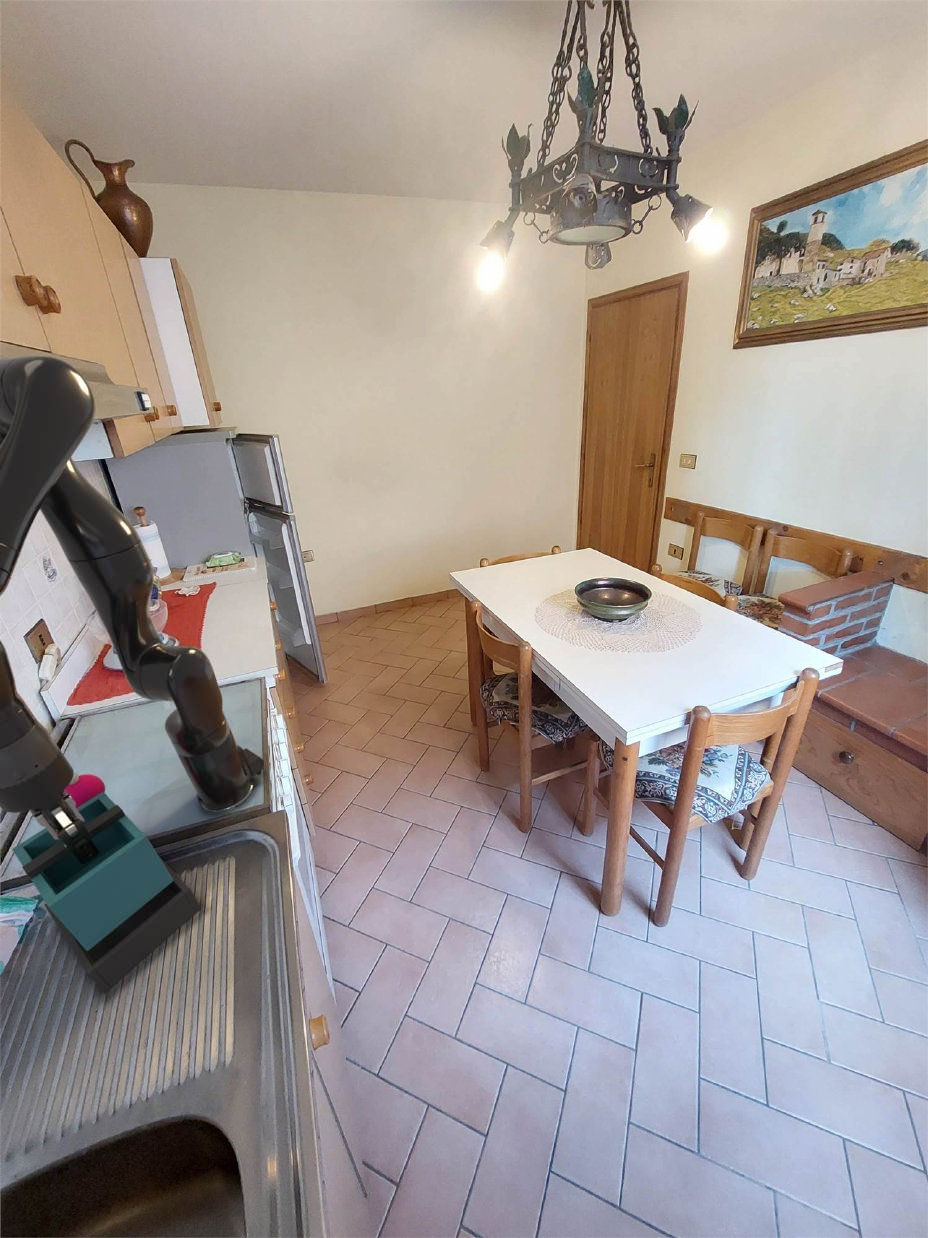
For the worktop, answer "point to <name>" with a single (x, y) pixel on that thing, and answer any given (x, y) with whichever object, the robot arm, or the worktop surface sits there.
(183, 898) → the charcoal bin
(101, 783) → the pepper mill
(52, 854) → the teal tote
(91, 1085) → the worktop surface
